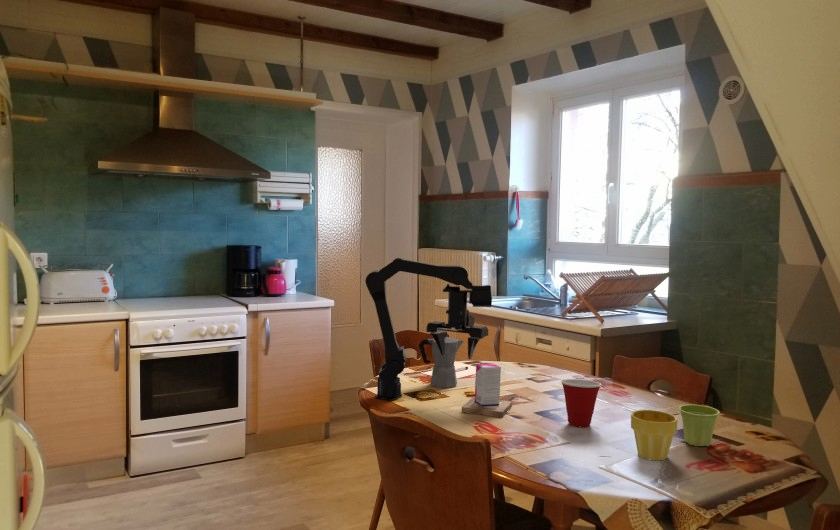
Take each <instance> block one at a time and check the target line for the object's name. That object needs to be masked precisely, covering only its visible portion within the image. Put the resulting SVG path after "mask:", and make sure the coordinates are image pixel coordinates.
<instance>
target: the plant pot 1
mask: <svg viewBox="0 0 840 530" xmlns="http://www.w3.org/2000/svg"><path fill="white" fill-rule="evenodd" d="M678 420H679V419H678V417H677V416H676V415H674V414H673V413H670V412H667V411H661V410H657V409H637V410H634V411H633V412H631V415H630V428H631V429H632V430H633V433H634V439H635V445H636V449H637V455H638V456H639V457H640V456H641V457H640V458H642V457H643V458H642V459H645V458H646V459H645V460H648V459H651V460H650V461H664V460H666V459H668V455H669V452H670V449H671V445H672V442H673V438H674V435H676V434H677V432H678Z"/></svg>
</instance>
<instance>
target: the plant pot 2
mask: <svg viewBox="0 0 840 530" xmlns="http://www.w3.org/2000/svg"><path fill="white" fill-rule="evenodd" d="M678 410H679V411H680V416H681V419H682V428H683V437H684V438H683V439H684V442H685V443H688V445H690V446H692V445H694V446H695V447H697V446H702V447H709V446H711V443H712V438H713V434H714V430H715V429H714V428H715V425H716V421H717V419H718V416H719V415H720V410H718V409H717V408H714V407H712V406H708V405H703V404H701V405H700V404H683V405H680V406H679V407H678Z"/></svg>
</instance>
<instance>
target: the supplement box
mask: <svg viewBox="0 0 840 530" xmlns="http://www.w3.org/2000/svg"><path fill="white" fill-rule="evenodd" d="M475 365H476V366H475V383H474V397H475V401H474V402H476V403H477V404H479V405H480V406H481V407H486V406H499V401H500V400H501V399H500V398H501V397H500V396H501V394H500V393H501V372H502V371H501V368H502V367H501V366H500V365H498V364H495V363H490V362H489V363H487V362H486V363H476V364H475Z"/></svg>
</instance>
